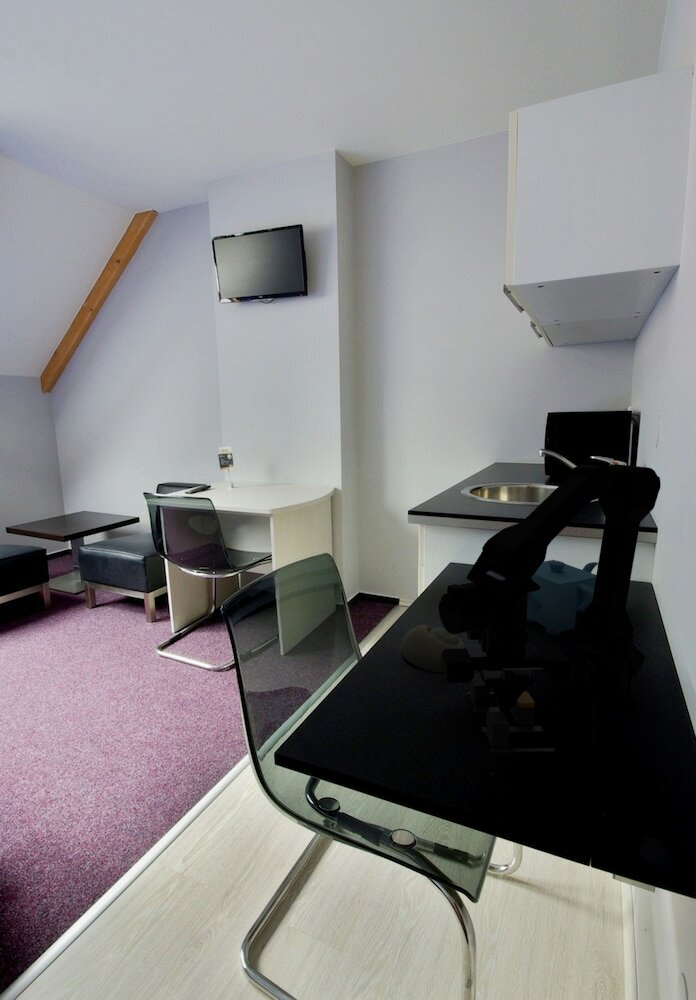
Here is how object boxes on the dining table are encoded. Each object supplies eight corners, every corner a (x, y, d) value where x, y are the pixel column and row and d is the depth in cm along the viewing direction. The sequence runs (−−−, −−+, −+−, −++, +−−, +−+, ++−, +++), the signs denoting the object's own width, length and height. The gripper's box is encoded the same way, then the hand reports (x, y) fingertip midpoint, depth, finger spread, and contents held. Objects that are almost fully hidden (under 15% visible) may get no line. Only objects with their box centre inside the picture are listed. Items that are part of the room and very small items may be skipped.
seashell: (468, 623, 98) (458, 638, 89) (470, 663, 98) (460, 682, 89) (406, 619, 103) (390, 633, 94) (408, 657, 104) (392, 675, 94)
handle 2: (502, 733, 74) (503, 711, 73) (508, 747, 71) (509, 723, 70) (485, 734, 74) (486, 711, 73) (491, 747, 71) (492, 724, 70)
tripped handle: (526, 713, 79) (527, 691, 78) (533, 724, 76) (534, 702, 75) (511, 713, 79) (512, 692, 78) (517, 725, 76) (518, 703, 75)
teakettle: (600, 647, 103) (605, 579, 100) (505, 633, 110) (508, 569, 107) (594, 613, 120) (598, 554, 117) (512, 602, 127) (515, 547, 124)
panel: (544, 696, 86) (544, 689, 85) (588, 761, 70) (589, 752, 70) (439, 698, 86) (439, 691, 85) (460, 763, 70) (460, 754, 70)
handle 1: (484, 695, 84) (484, 675, 83) (489, 706, 81) (489, 685, 80) (470, 696, 84) (470, 676, 83) (474, 706, 81) (474, 685, 80)
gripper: (548, 599, 82) (543, 685, 85) (435, 601, 83) (434, 687, 85) (578, 628, 71) (571, 726, 74) (448, 630, 72) (447, 728, 74)
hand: (503, 714), depth 77 cm, fingers closed
